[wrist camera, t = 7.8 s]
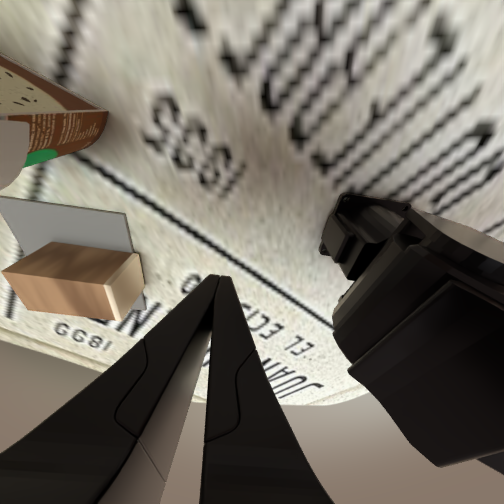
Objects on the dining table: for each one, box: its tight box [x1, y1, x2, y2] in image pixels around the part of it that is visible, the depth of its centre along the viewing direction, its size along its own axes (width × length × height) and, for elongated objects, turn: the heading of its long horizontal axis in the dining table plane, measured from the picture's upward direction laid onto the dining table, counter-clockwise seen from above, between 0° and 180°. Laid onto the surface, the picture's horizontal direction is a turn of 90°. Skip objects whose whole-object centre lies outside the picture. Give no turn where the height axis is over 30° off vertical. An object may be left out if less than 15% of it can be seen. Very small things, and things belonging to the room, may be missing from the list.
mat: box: [0, 196, 146, 310], centre depth 23 cm, size 12×14×1 cm
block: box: [1, 242, 145, 321], centre depth 21 cm, size 5×5×9 cm
